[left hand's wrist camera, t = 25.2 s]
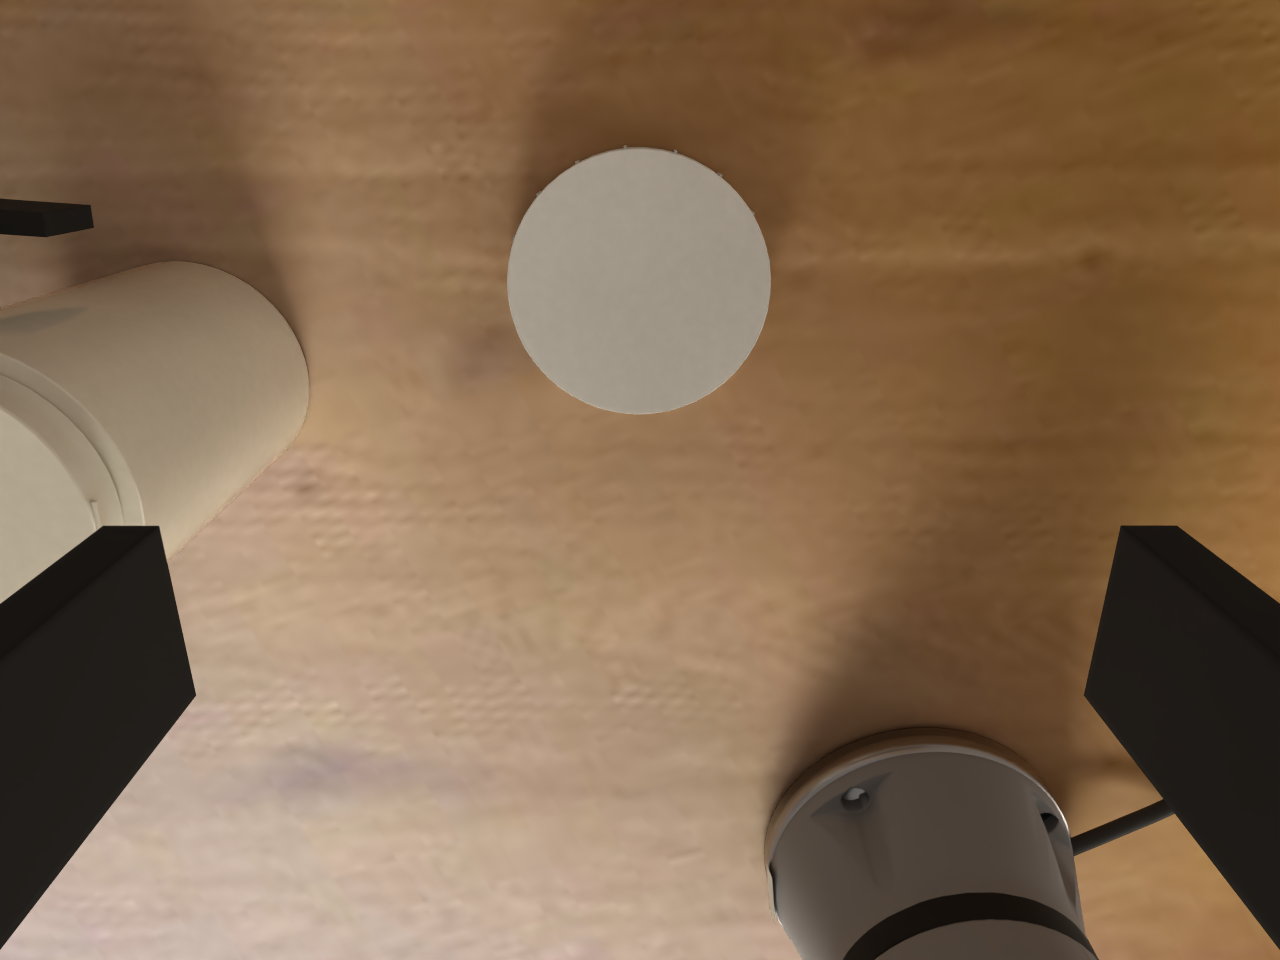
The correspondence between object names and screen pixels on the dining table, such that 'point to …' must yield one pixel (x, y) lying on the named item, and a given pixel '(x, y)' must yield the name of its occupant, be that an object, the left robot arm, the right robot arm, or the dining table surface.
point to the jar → (138, 408)
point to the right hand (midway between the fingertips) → (102, 416)
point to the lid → (638, 280)
